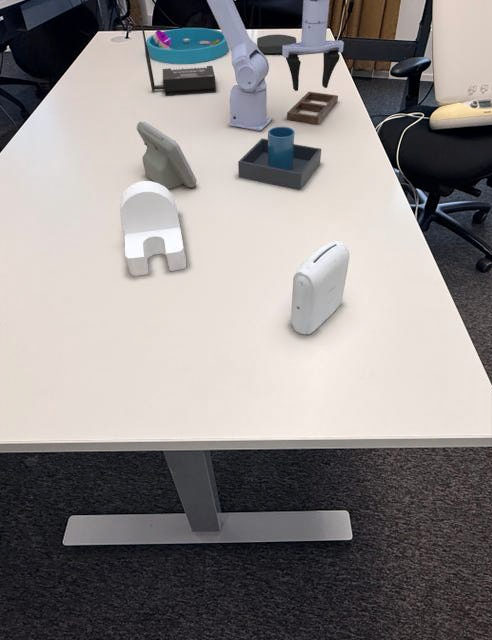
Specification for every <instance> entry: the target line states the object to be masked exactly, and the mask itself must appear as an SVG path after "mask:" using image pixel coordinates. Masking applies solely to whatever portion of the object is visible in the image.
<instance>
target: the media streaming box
mask: <svg viewBox="0 0 492 640" xmlns="http://www.w3.org/2000/svg"><path fill="white" fill-rule="evenodd" d="M295 43H297V38H296V36H292V35H287V34H267V35H263V36H259V37H257V39H256V45H257V47H258V49H259V50H260V52H261V53H262V54H282V46H284V45H290V44H295Z"/></svg>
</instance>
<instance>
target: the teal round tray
mask: <svg viewBox="0 0 492 640" xmlns="http://www.w3.org/2000/svg"><path fill="white" fill-rule="evenodd" d="M146 43H147V48H148V52H149V56H150V59H153V60H154V61H157V62H161V63H167V64H177V65H178V64H179V65H182V64H183V65H185V64H187V65H188V64H197V63H205V62H209V61H214V60H217V59H220V58H222V57H224V56H225V55H226V54H227V53H228V51H229V46H228V44H227V41H226V39H225V37H224V35H223V33H222V31H221V30H218V29H214V28H205V27H183V28H174V29H168V30H164V31H162V30H159V29H157V30H156V31H155V33H154V34H151V35H150V36H149V37H148V38H146Z"/></svg>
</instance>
